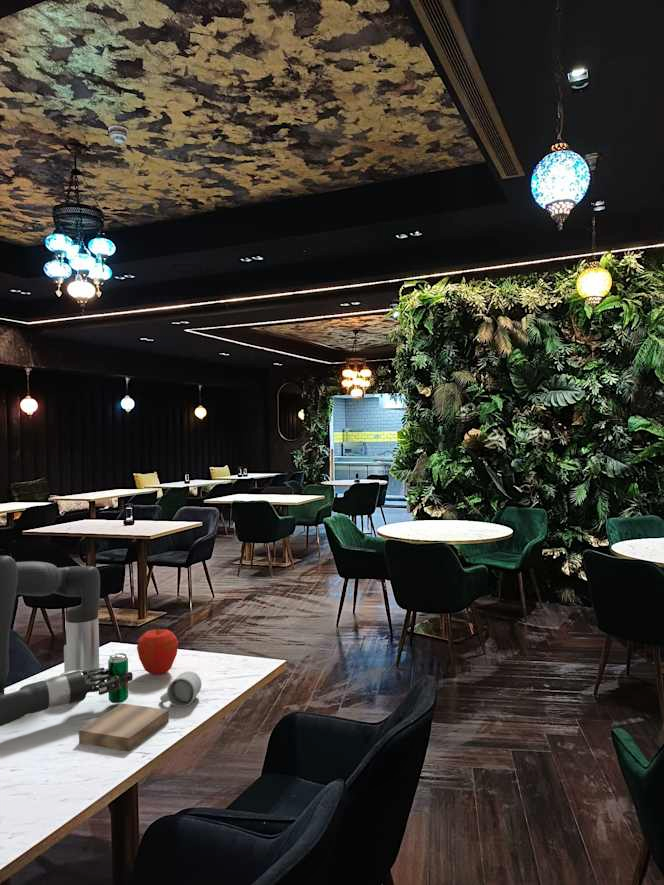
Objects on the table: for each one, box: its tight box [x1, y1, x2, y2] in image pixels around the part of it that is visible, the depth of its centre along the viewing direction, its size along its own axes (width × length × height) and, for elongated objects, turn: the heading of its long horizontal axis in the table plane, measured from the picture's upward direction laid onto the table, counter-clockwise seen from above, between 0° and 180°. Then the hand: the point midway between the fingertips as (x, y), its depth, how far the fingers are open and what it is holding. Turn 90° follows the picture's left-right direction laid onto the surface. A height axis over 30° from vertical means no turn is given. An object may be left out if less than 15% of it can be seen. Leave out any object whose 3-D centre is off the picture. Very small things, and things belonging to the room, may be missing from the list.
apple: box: [136, 627, 179, 676], centre depth 193 cm, size 12×12×14 cm
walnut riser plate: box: [78, 702, 170, 752], centre depth 154 cm, size 14×16×3 cm
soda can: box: [107, 652, 129, 704], centre depth 171 cm, size 5×5×12 cm
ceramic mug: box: [159, 671, 202, 708], centre depth 172 cm, size 11×8×8 cm
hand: (127, 673), depth 172 cm, fingers closed on soda can, 5 cm apart
